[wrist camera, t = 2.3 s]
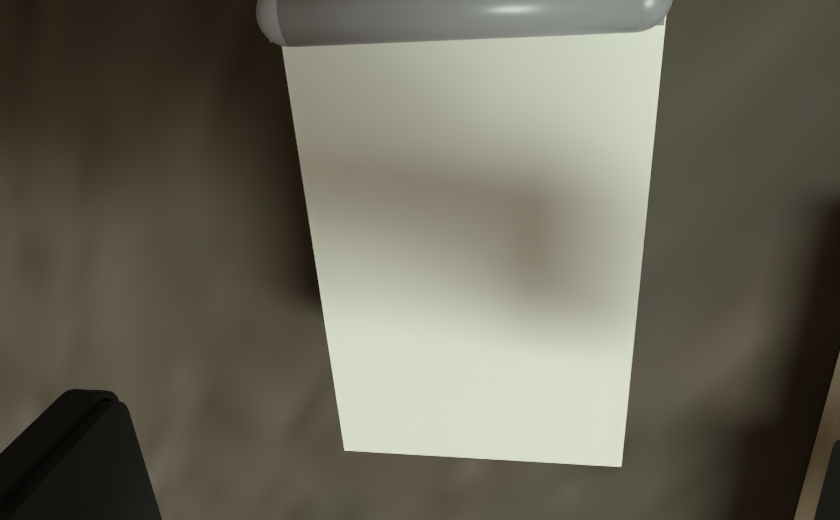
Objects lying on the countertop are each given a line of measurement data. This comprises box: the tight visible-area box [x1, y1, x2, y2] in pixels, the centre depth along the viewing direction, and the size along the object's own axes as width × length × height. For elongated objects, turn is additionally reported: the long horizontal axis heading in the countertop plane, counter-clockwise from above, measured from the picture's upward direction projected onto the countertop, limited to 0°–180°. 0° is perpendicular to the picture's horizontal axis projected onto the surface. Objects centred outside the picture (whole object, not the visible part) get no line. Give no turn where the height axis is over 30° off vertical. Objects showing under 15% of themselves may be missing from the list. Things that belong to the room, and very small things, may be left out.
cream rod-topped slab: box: [256, 0, 673, 467], centre depth 14 cm, size 10×6×6 cm, turn 4°
